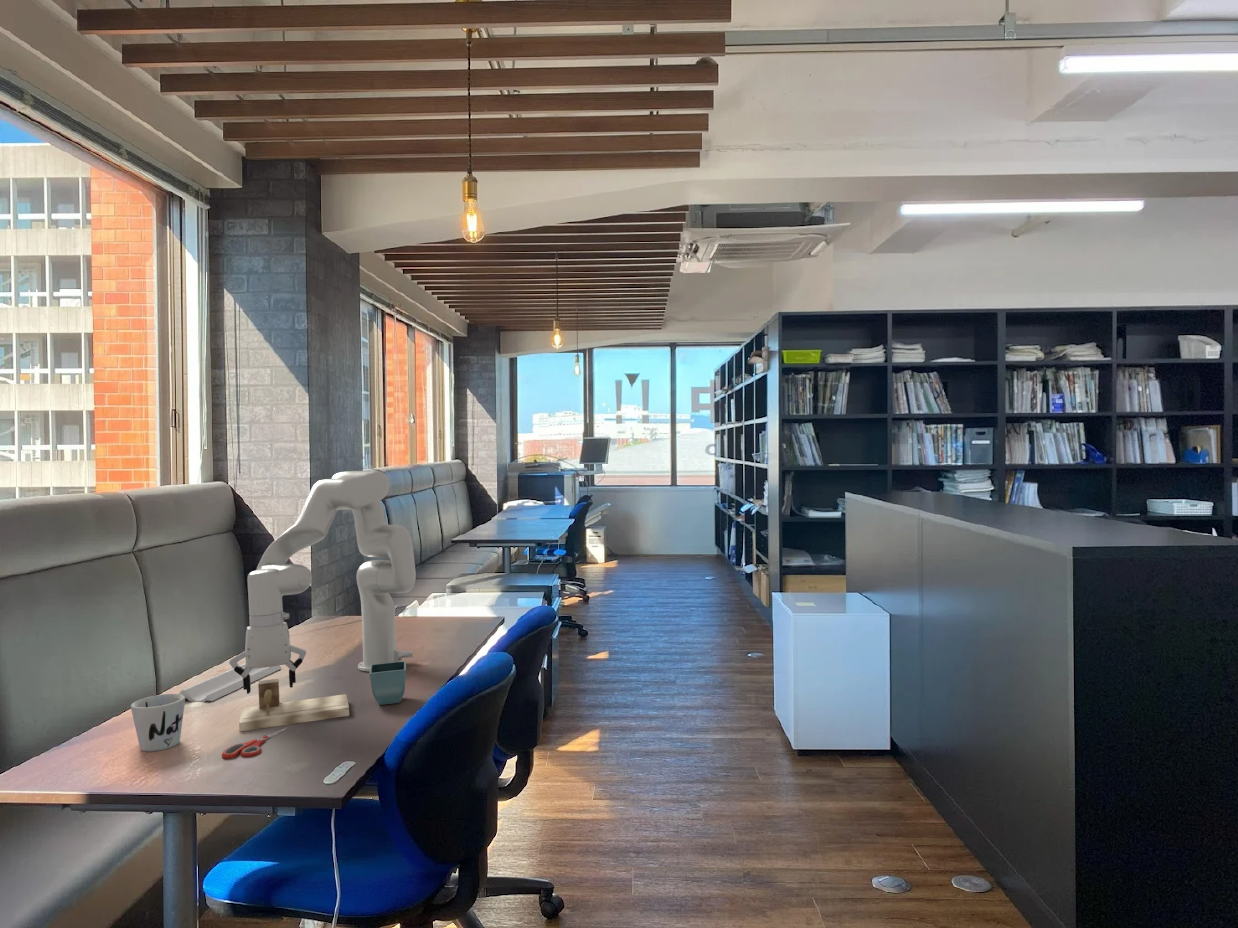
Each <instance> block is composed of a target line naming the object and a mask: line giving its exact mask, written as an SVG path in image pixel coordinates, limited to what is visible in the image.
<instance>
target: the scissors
mask: <svg viewBox="0 0 1238 928" xmlns="http://www.w3.org/2000/svg"><path fill="white" fill-rule="evenodd" d="M287 729H288V726H286V727H284V728H282V729H279V730H276V731H274V732H271V733H270V734H267V735H263V736H262V737H260V738H259V739H257V738H255V739H252V740H249V741H247V742H241V743H237V744H236V743H235V744H233V745H231V746H229V747H227V748H226V749H224V750H223V751H222V753H221V758H222V759H224V760H231V759H234V758H236V757H238V756H239V755H240V757H242V758H252V757H253V758H254V757H255V756H258V755H260V754H261V753H262V748H261V746H262V745H264V744H265V743H266V742H265V741H268V740H269V739H272V738H273V737H275V736H278V735H279V734H280V733H281V732H280V731H282V732H283V731H285V730H287ZM279 732H280V733H279ZM278 733H279V734H278ZM254 750H255V751H254ZM233 751H234V752H233ZM250 751H251V752H250Z"/></svg>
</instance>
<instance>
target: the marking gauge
mask: <svg viewBox="0 0 1238 928" xmlns="http://www.w3.org/2000/svg"><path fill="white" fill-rule="evenodd" d="M279 681H280V680H279V678H273V679H272V678H271V679H265V680H259V681H258V684H257V685H258V706H259V709H263V708H266V710H267V715H269V708H270V707H278V706H279V703H281V702H280V686H279Z"/></svg>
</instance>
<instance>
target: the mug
mask: <svg viewBox="0 0 1238 928" xmlns="http://www.w3.org/2000/svg"><path fill="white" fill-rule="evenodd" d="M185 703H186V699H185V696H184V695H181V694H179V693H165V694H164V693H163V694H157V695H151V696H148V697H147V696H146V697H144V698H141V699H138V700H136V701H134V702H132V703H131V704H130V709H131V710H130V711H131V714H132V719H133V723H134V727H135V732H136V736H137V741H138V746H139V749H140V750H141V751H143V752H150V753H151V752H159V751H164V750H168V749H171V748H173V747H175V746H177V745H179V743H180V741H181V735H182V727H183V719H184V711H185Z"/></svg>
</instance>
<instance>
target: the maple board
mask: <svg viewBox="0 0 1238 928" xmlns="http://www.w3.org/2000/svg"><path fill="white" fill-rule="evenodd" d="M343 717H350V706H349V701H348V695H347V694H346V693H345V694H337V695H331V696H330V695H329V696H321V697H315V698H309V699H308V698H307V699H300V700H291V701H284V702H280V703H279V706H278V707H270V708H269V715H267V710H266V708H263V709H259V705H255V706H249V707H243V708H241V713H240V717H239V722H238V729H239V730H238V731H239V732H246V731H253V730H260V729H266V728H273V727H279V726H287V725H294V724H301V723H310V722H316V721H323V720H330V719H336V718H343Z"/></svg>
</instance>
